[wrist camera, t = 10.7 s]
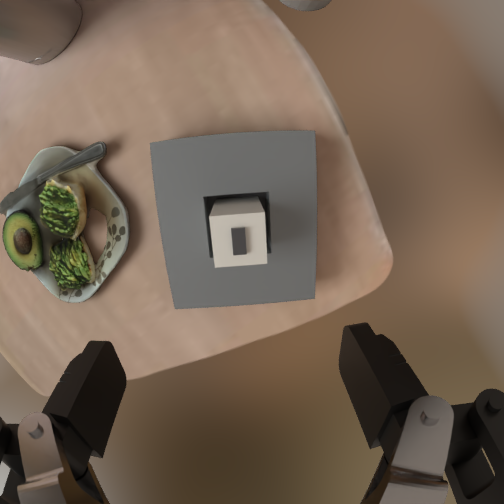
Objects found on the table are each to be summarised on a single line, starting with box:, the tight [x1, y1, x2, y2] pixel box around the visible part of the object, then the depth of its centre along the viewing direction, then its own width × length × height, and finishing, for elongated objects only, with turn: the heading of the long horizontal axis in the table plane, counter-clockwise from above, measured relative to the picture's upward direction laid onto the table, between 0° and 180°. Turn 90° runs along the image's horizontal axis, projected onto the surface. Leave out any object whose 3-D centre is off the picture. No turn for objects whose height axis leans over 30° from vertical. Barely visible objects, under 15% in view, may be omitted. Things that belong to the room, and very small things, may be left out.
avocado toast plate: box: [0, 142, 130, 303], centre depth 25 cm, size 19×18×5 cm
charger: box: [209, 196, 267, 268], centre depth 24 cm, size 4×4×7 cm
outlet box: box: [150, 131, 317, 309], centre depth 26 cm, size 16×14×4 cm
